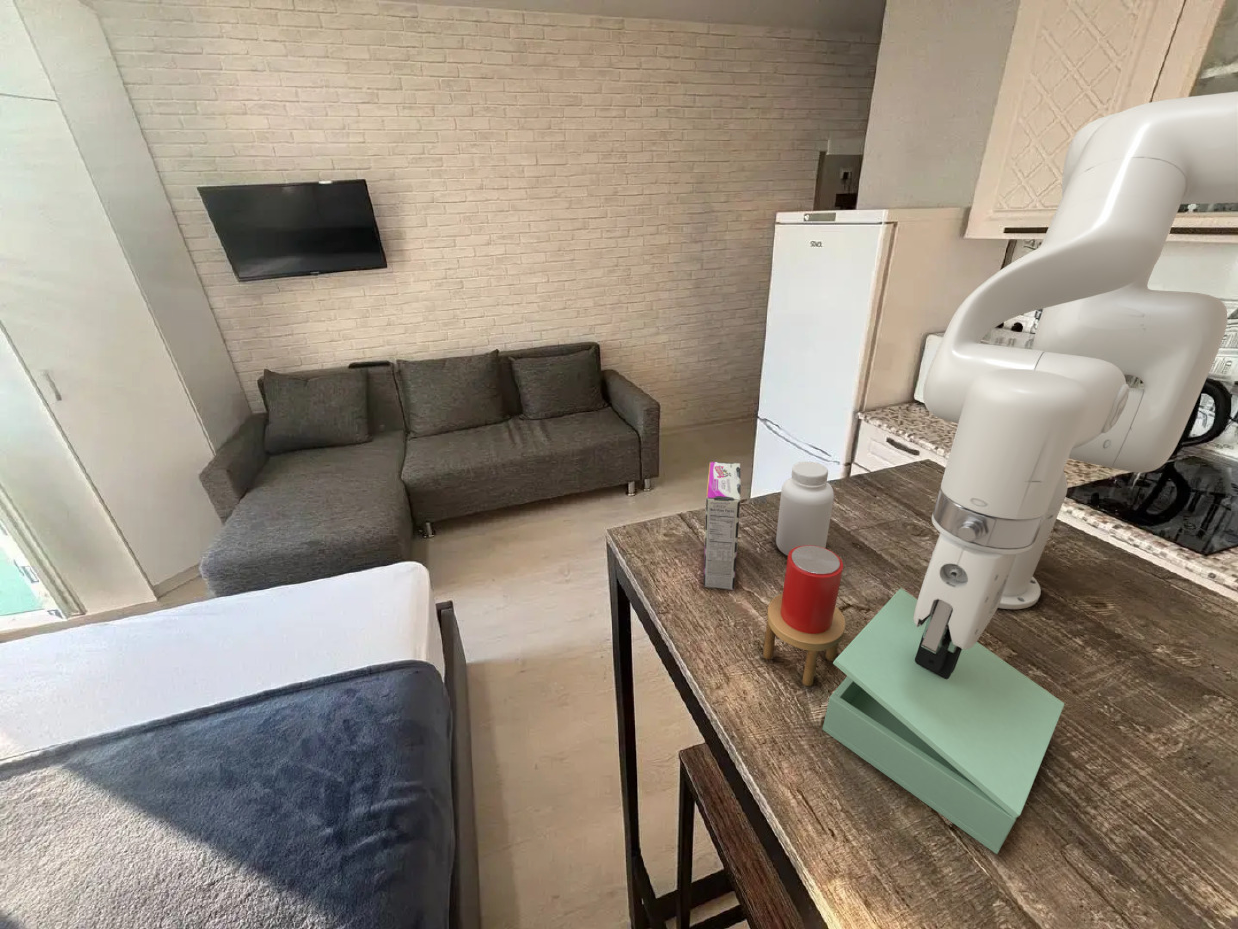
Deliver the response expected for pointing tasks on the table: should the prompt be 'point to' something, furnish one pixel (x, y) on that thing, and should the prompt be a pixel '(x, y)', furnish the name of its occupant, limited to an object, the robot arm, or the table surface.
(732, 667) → the table surface
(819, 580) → the soda can
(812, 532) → the pill bottle
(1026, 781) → the lid
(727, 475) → the candy bar box
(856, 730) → the box
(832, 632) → the stool
